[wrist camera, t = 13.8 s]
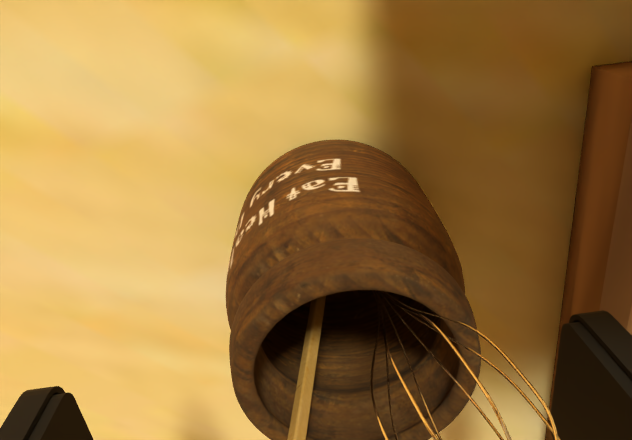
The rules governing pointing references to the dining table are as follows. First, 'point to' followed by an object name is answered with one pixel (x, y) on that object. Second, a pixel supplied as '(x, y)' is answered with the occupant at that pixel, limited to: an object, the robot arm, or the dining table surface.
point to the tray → (603, 206)
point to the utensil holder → (350, 304)
